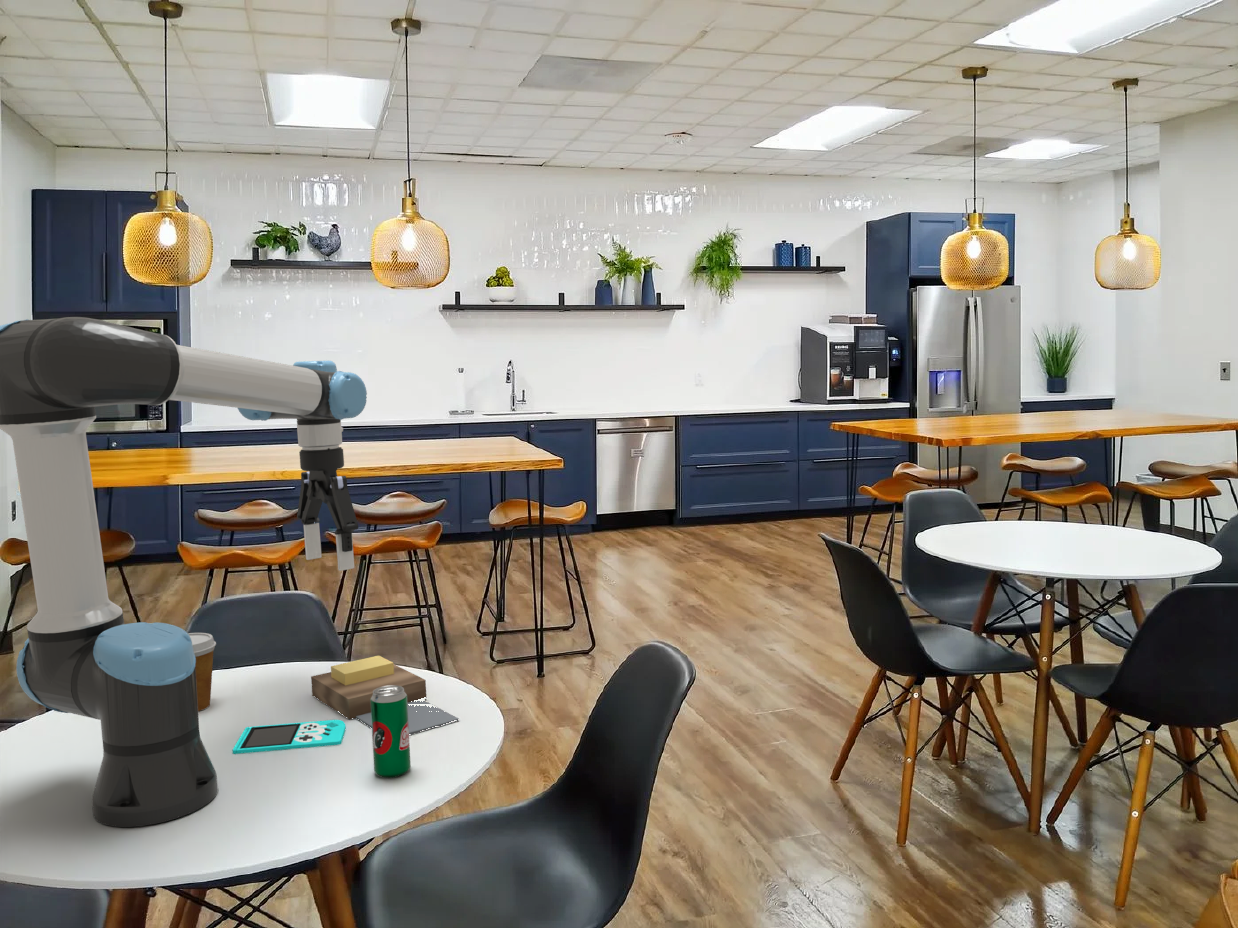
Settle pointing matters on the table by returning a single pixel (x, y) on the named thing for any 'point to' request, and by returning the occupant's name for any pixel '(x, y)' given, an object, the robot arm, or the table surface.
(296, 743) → the handheld game console
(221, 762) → the table surface
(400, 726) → the soda can
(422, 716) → the mat
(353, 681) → the yellow rectangular block
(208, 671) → the disposable coffee cup
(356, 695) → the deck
